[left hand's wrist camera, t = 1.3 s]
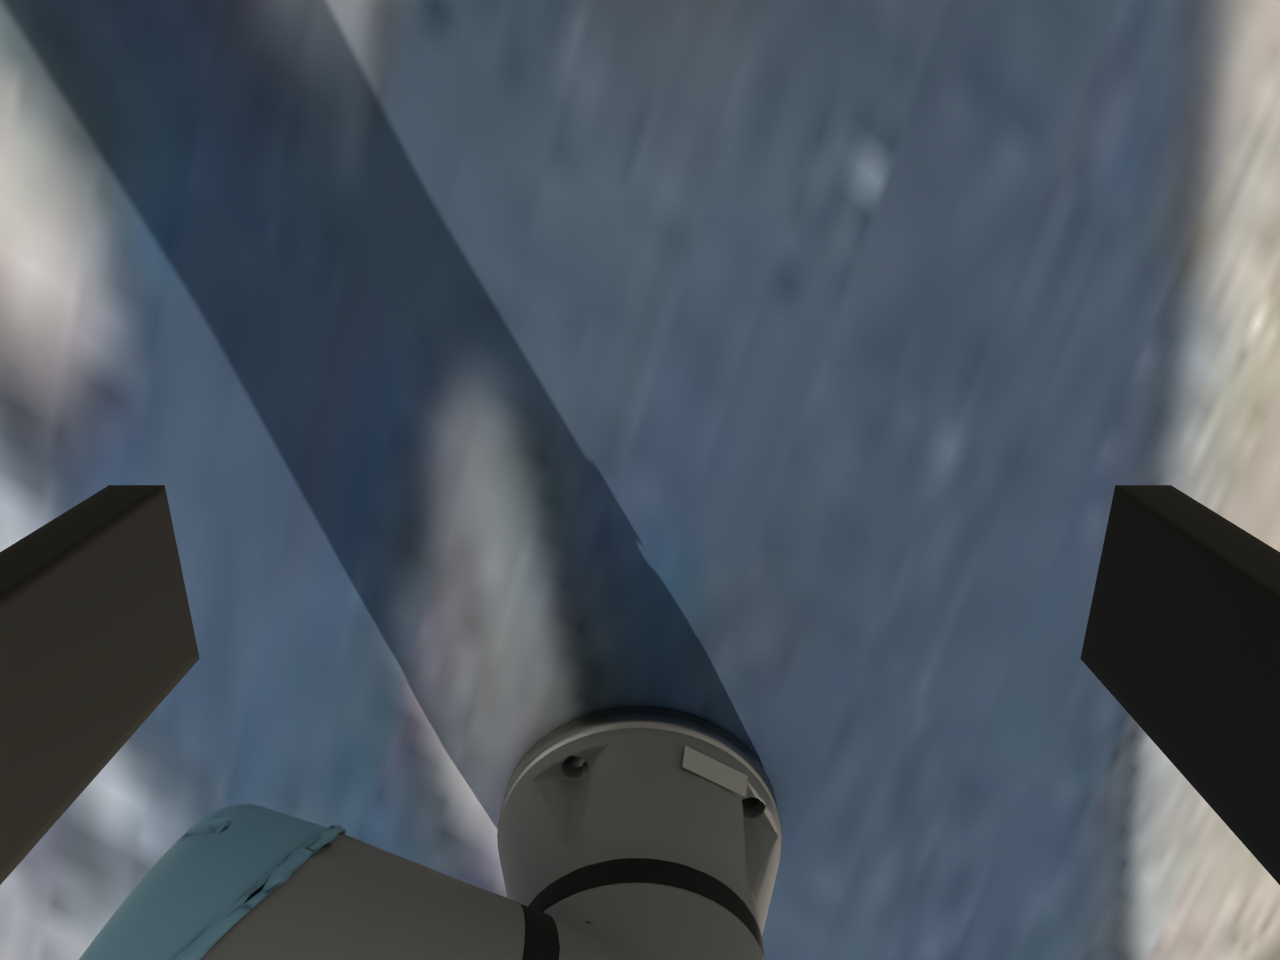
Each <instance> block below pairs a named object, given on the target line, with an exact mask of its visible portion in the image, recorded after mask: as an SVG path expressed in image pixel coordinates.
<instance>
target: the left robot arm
mask: <svg viewBox="0 0 1280 960" xmlns="http://www.w3.org/2000/svg"><path fill="white" fill-rule="evenodd" d="M198 660H199V654H198V649H197V644H196V639H195V634H194V629H193V624H192V619H191V614H190V610H189V605H188V600H187V595H186V590H185V585H184V580H183V575H182V570H181V565H180V560H179V555H178V550H177V545H176V540H175V535H174V530H173V525H172V520H171V515H170V510H169V505H168V500H167V495H166V490H165V485H109V486H107V487H106V488H104V489H102V490H101V491H99V492H98V493H96V494H94V495H93V496H91V497H89V498H88V499H86V500H85V501H83V502H81V503H80V504H78V505H76V506H75V507H73V508H72V509H70V510H68V511H67V512H65V513H63V514H62V515H60V516H59V517H57V518H55V519H54V520H52V521H50V522H49V523H47V524H46V525H44V526H42V527H41V528H39V529H38V530H36V531H34V532H33V533H31V534H29V535H28V536H26V537H25V538H23V539H21V540H20V541H18V542H16V543H15V544H13V545H12V546H10V547H8V548H7V549H5V550H3V551H2V552H0V885H1V884H2V882H3V881H4V880H5V879H6V878H7V877H8V876H9V874H10V873H11V872H12V871H13V870H14V869H15V868H16V866H17V865H18V864H19V863H20V862H21V861H22V860H23V859H24V857H25V856H26V855H27V854H28V853H29V852H30V851H31V849H32V848H33V847H34V846H35V845H36V844H37V843H38V841H39V840H40V839H41V838H42V837H43V836H44V835H45V834H46V832H47V831H48V830H49V829H50V828H51V827H52V826H53V824H54V823H55V822H56V821H57V820H58V819H59V818H60V816H61V815H62V814H63V813H64V812H65V811H66V810H67V809H68V807H69V806H70V805H71V804H72V803H73V802H74V801H75V799H76V798H77V797H78V796H79V795H80V794H81V793H82V791H83V790H84V789H85V788H86V787H87V786H88V785H89V784H90V782H91V781H92V780H93V779H94V778H95V777H96V776H97V774H98V773H99V772H100V771H101V770H102V769H103V768H104V766H105V765H106V764H107V763H108V762H109V761H110V760H111V759H112V757H113V756H114V755H115V754H116V753H117V752H118V751H119V749H120V748H121V747H122V746H123V745H124V744H125V743H126V742H127V740H128V739H129V738H130V737H131V736H132V735H133V734H134V732H135V731H136V730H137V729H138V728H139V727H140V726H141V724H142V723H143V722H144V721H145V720H146V719H147V718H148V717H149V715H150V714H151V713H152V712H153V711H154V710H155V709H156V707H157V706H158V705H159V704H160V703H161V702H162V701H163V699H164V698H165V697H166V696H167V695H168V694H169V693H170V692H171V690H172V689H173V688H174V687H175V686H176V685H177V684H178V682H179V681H180V680H181V679H182V678H183V677H184V676H185V674H186V673H187V672H188V671H189V670H190V669H191V668H192V667H193V665H194V664H195V663H196V662H197V661H198ZM1081 660H1082V661H1083V662H1084V663H1085V664H1086V665H1087V667H1088V668H1089V669H1090V670H1091V671H1092V672H1093V673H1094V674H1095V676H1096V677H1097V678H1098V679H1099V680H1100V681H1101V682H1102V684H1103V685H1104V686H1105V687H1106V688H1107V689H1108V690H1109V692H1110V693H1111V694H1112V695H1113V696H1114V697H1115V698H1116V699H1117V701H1118V702H1119V703H1120V704H1121V705H1122V706H1123V707H1124V709H1125V710H1126V711H1127V712H1128V713H1129V714H1130V715H1131V717H1132V718H1133V719H1134V720H1135V721H1136V722H1137V723H1138V724H1139V726H1140V727H1141V728H1142V729H1143V730H1144V731H1145V732H1146V734H1147V735H1148V736H1149V737H1150V738H1151V739H1152V740H1153V742H1154V743H1155V744H1156V745H1157V746H1158V747H1159V748H1160V749H1161V751H1162V752H1163V753H1164V754H1165V755H1166V756H1167V757H1168V759H1169V760H1170V761H1171V762H1172V763H1173V764H1174V765H1175V766H1176V768H1177V769H1178V770H1179V771H1180V772H1181V773H1182V774H1183V776H1184V777H1185V778H1186V779H1187V780H1188V781H1189V782H1190V784H1191V785H1192V786H1193V787H1194V788H1195V789H1196V790H1197V791H1198V793H1199V794H1200V795H1201V796H1202V797H1203V798H1204V799H1205V801H1206V802H1207V803H1208V804H1209V805H1210V806H1211V807H1212V809H1213V810H1214V811H1215V812H1216V813H1217V814H1218V815H1219V816H1220V818H1221V819H1222V820H1223V821H1224V822H1225V823H1226V824H1227V826H1228V827H1229V828H1230V829H1231V830H1232V831H1233V832H1234V834H1235V835H1236V836H1237V837H1238V838H1239V839H1240V840H1241V841H1242V843H1243V844H1244V845H1245V846H1246V847H1247V848H1248V849H1249V851H1250V852H1251V853H1252V854H1253V855H1254V856H1255V857H1256V859H1257V860H1258V861H1259V862H1260V863H1261V864H1262V865H1263V866H1264V868H1265V869H1266V870H1267V871H1268V872H1269V873H1270V874H1271V876H1272V877H1273V878H1274V879H1275V880H1276V881H1277V882H1278V884H1279V885H1280V552H1278V551H1277V550H1275V549H1273V548H1272V547H1270V546H1268V545H1267V544H1265V543H1264V542H1262V541H1260V540H1259V539H1257V538H1255V537H1254V536H1252V535H1251V534H1249V533H1247V532H1246V531H1244V530H1242V529H1241V528H1239V527H1238V526H1236V525H1234V524H1233V523H1231V522H1230V521H1228V520H1226V519H1225V518H1223V517H1221V516H1220V515H1218V514H1217V513H1215V512H1213V511H1212V510H1210V509H1208V508H1207V507H1205V506H1204V505H1202V504H1200V503H1199V502H1197V501H1195V500H1194V499H1192V498H1191V497H1189V496H1187V495H1186V494H1184V493H1182V492H1181V491H1179V490H1178V489H1176V488H1174V487H1173V486H1171V485H1115V490H1114V495H1113V500H1112V505H1111V510H1110V515H1109V520H1108V525H1107V530H1106V535H1105V540H1104V545H1103V550H1102V555H1101V560H1100V565H1099V570H1098V575H1097V580H1096V585H1095V590H1094V595H1093V600H1092V605H1091V610H1090V614H1089V619H1088V624H1087V629H1086V634H1085V639H1084V644H1083V649H1082V654H1081ZM345 833H346V829H345V828H343V827H341V826H338V825H332V826H330V827H324V826H321V825H318V824H314V823H311V822H308V821H305V820H302V819H299V818H296V817H293V816H290V815H287V814H283V813H280V812H277V811H274V810H271V809H268V808H265V807H262V806H258V805H253V804H241V805H234V806H229V807H226V808H223V809H221V810H218V811H216V812H214V813H212V814H210V815H209V816H207V817H205V818H204V819H202V820H201V821H200V822H198V823H197V824H195V825H194V826H193V827H192V828H191V829H189V830H188V831H187V832H186V833H185V834H184V835H183V836H182V837H181V838H180V839H179V840H178V841H177V842H176V843H175V844H174V845H173V846H172V847H171V848H170V849H169V850H168V851H167V852H166V853H165V854H164V855H163V856H162V858H161V859H160V860H159V861H158V862H157V863H156V864H155V865H154V866H153V868H152V869H151V870H150V871H149V872H148V873H147V874H146V876H145V877H144V878H143V879H142V880H141V881H140V883H139V884H138V885H137V886H136V887H135V889H134V890H133V891H132V892H131V894H130V895H129V896H128V897H127V898H126V900H125V901H124V902H123V903H122V905H121V906H120V907H119V908H118V910H117V911H116V912H115V913H114V915H113V916H112V917H111V918H110V920H109V921H108V922H107V923H106V925H105V926H104V927H103V929H102V930H101V931H100V933H99V934H98V935H97V936H96V938H95V939H94V940H93V942H92V943H91V944H90V946H89V947H88V948H87V950H86V951H85V952H84V954H83V955H82V956H81V958H80V959H79V960H765V957H764V949H763V942H762V934H763V930H764V925H765V921H766V917H767V912H768V908H769V904H770V900H771V895H772V891H773V887H774V883H775V878H776V874H777V870H778V865H779V860H780V854H781V846H782V831H781V824H780V818H779V813H778V808H777V802H776V798H775V794H774V791H773V787H772V785H771V783H770V780H769V778H768V776H767V774H766V772H765V771H764V769H763V767H762V766H761V764H760V763H759V762H758V760H757V759H756V758H755V756H754V755H753V754H752V753H751V752H750V751H749V750H748V749H747V748H746V747H745V746H744V745H743V744H742V743H741V742H740V741H738V740H737V739H736V738H734V737H733V736H732V735H730V734H729V733H727V732H726V731H724V730H722V729H721V728H719V727H717V726H715V725H713V724H711V723H709V722H707V721H705V720H702V719H700V718H697V717H694V716H692V715H688V714H685V713H681V712H677V711H672V710H667V709H659V708H650V707H630V708H618V709H611V710H605V711H601V712H597V713H593V714H590V715H586V716H583V717H580V718H578V719H576V720H573V721H571V722H569V723H567V724H565V725H563V726H561V727H559V728H557V729H556V730H554V731H553V732H551V733H550V734H548V735H547V736H545V737H544V738H543V739H541V740H540V741H539V742H538V743H537V744H535V745H534V746H533V747H532V748H531V749H530V750H529V751H528V752H527V754H526V755H525V756H524V757H523V759H522V760H521V761H520V763H519V764H518V766H517V767H516V769H515V771H514V772H513V774H512V776H511V778H510V781H509V783H508V786H507V789H506V792H505V796H504V801H503V805H502V810H501V814H500V819H499V824H498V849H499V856H500V862H501V867H502V872H503V877H504V882H505V887H506V892H507V896H508V898H506V897H503V896H501V895H498V894H495V893H492V892H490V891H487V890H484V889H482V888H479V887H476V886H474V885H471V884H468V883H466V882H463V881H461V880H458V879H456V878H453V877H451V876H448V875H446V874H443V873H441V872H438V871H436V870H433V869H431V868H428V867H425V866H423V865H420V864H418V863H415V862H413V861H410V860H408V859H405V858H403V857H400V856H398V855H395V854H393V853H390V852H388V851H385V850H383V849H380V848H377V847H375V846H372V845H370V844H367V843H365V842H362V841H360V840H357V839H355V838H352V837H350V836H347V835H345Z"/></svg>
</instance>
